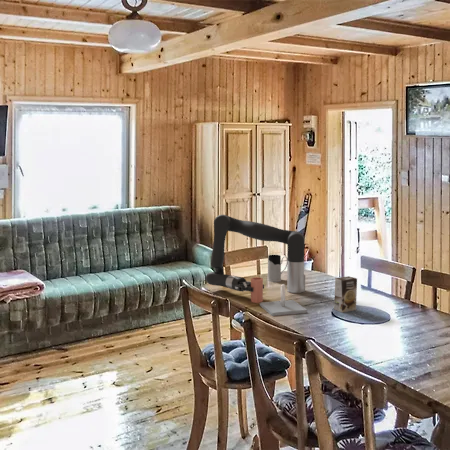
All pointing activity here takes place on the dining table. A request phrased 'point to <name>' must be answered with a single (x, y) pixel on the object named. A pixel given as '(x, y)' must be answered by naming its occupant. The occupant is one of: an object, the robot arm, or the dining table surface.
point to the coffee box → (345, 294)
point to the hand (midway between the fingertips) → (258, 288)
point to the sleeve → (257, 290)
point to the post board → (283, 306)
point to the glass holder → (275, 268)
